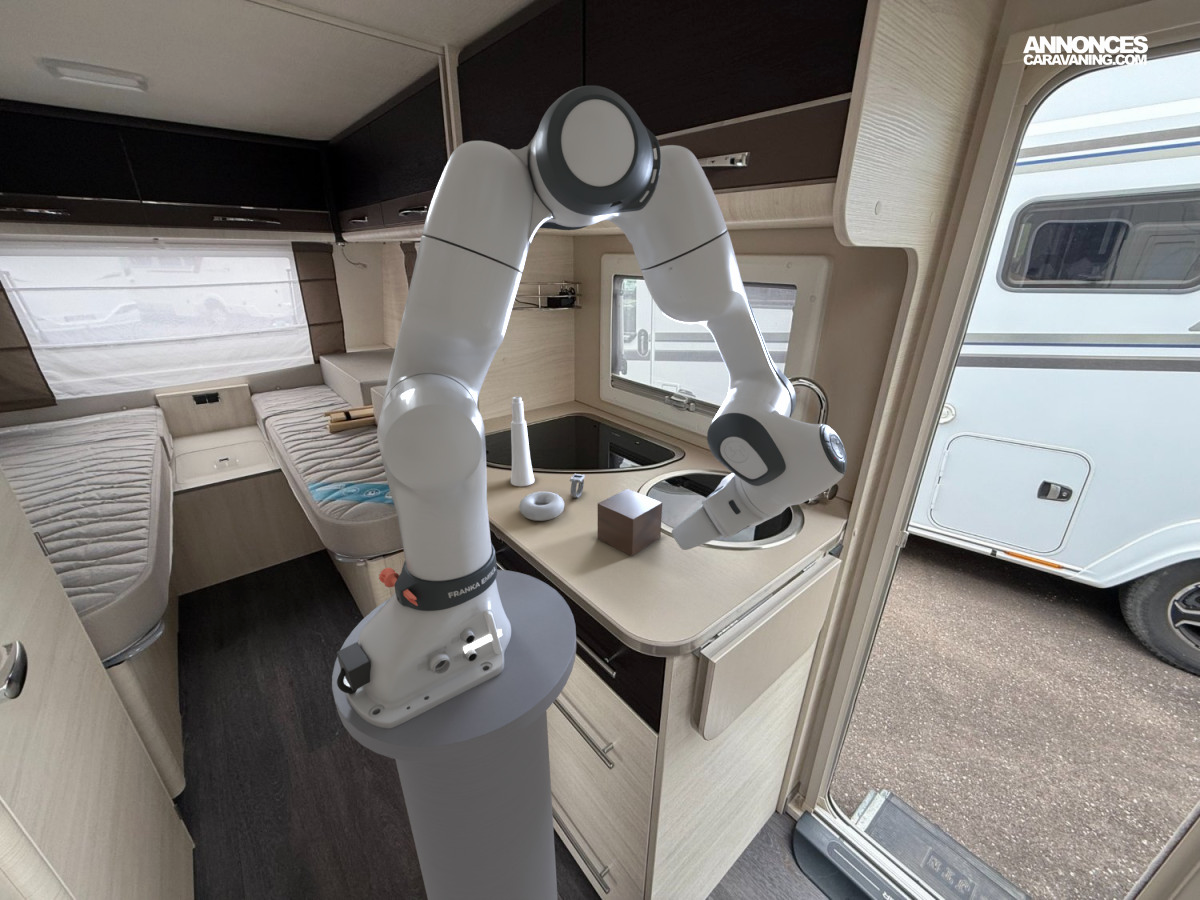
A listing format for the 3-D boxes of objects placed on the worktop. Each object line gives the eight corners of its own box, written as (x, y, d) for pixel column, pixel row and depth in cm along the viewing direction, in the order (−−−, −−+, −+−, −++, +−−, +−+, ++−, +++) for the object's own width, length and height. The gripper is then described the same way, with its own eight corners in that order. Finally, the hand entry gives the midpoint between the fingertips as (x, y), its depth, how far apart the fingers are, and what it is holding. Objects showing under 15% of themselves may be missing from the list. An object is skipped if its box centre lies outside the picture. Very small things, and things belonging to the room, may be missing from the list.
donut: (558, 526, 99) (569, 503, 108) (558, 511, 97) (568, 490, 107) (513, 522, 100) (527, 500, 109) (512, 508, 99) (526, 486, 108)
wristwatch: (579, 502, 108) (578, 483, 107) (567, 501, 109) (567, 481, 107) (587, 491, 114) (586, 472, 112) (576, 489, 115) (576, 471, 113)
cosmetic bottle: (535, 476, 122) (531, 394, 114) (533, 486, 116) (527, 401, 108) (512, 476, 122) (506, 394, 114) (508, 486, 116) (501, 401, 108)
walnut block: (632, 556, 88) (633, 519, 85) (597, 538, 94) (597, 503, 91) (660, 537, 94) (662, 502, 91) (626, 522, 100) (627, 488, 97)
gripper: (765, 461, 80) (711, 494, 90) (701, 501, 66) (645, 535, 76) (787, 492, 79) (729, 522, 89) (726, 540, 65) (666, 570, 75)
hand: (690, 529), depth 82 cm, fingers closed
